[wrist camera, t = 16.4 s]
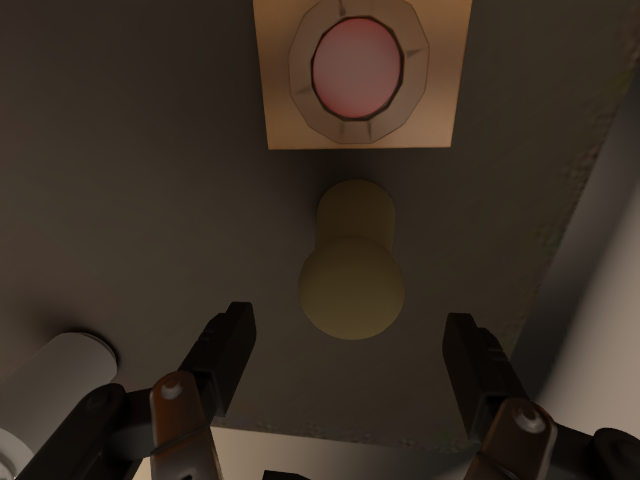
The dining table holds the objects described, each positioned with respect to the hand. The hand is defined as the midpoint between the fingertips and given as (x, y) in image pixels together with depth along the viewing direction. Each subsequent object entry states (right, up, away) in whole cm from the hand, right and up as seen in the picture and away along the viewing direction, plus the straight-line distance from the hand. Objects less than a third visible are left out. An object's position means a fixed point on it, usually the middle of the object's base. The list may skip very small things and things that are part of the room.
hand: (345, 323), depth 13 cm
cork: (+2, +5, +11) cm, 12 cm away
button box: (+1, +14, +7) cm, 15 cm away
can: (-27, -9, +22) cm, 36 cm away
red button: (+1, +12, +3) cm, 12 cm away
